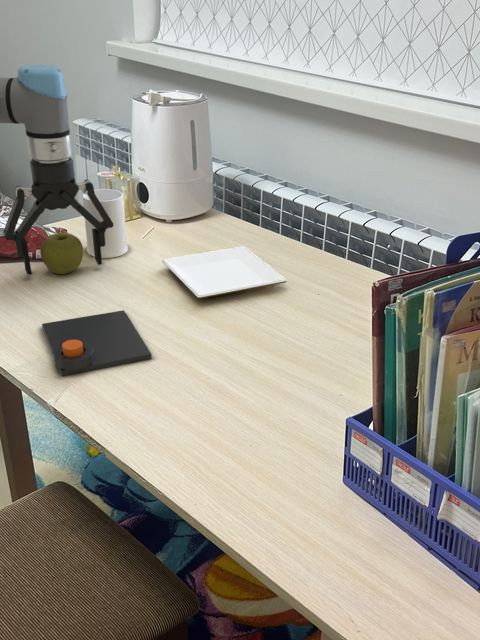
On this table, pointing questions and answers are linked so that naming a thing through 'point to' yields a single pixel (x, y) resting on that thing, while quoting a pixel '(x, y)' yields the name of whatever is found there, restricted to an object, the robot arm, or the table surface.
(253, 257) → the plate
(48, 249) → the apple
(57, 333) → the scale
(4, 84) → the robot arm
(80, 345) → the button
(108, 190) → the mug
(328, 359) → the table surface
